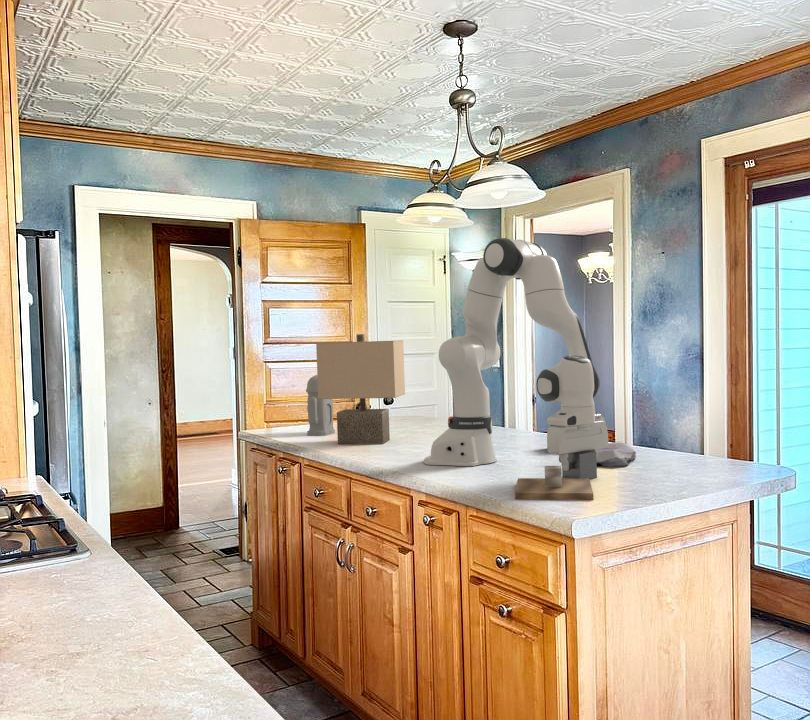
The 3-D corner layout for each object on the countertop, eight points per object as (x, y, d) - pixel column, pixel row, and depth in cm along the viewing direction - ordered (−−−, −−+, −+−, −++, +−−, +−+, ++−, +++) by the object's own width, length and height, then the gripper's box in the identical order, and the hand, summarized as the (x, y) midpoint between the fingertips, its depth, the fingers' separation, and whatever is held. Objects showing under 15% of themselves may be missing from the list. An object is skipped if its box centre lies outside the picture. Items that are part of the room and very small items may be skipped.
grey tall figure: (315, 431, 319) (313, 374, 319) (338, 431, 317) (336, 373, 316) (302, 436, 305) (300, 375, 304) (326, 436, 303) (324, 375, 302)
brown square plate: (515, 499, 175) (514, 473, 175) (518, 484, 193) (517, 461, 192) (593, 499, 172) (592, 474, 171) (589, 484, 189) (588, 460, 189)
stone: (626, 469, 210) (625, 451, 210) (574, 466, 217) (574, 449, 217) (640, 458, 227) (640, 441, 227) (592, 456, 235) (591, 440, 234)
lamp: (319, 445, 276) (315, 335, 275) (334, 439, 293) (330, 335, 292) (396, 445, 270) (393, 332, 269) (406, 438, 288) (403, 333, 286)
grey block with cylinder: (580, 480, 194) (579, 454, 194) (554, 476, 202) (553, 450, 202) (596, 477, 198) (596, 451, 197) (570, 473, 205) (570, 447, 205)
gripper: (595, 412, 206) (596, 461, 207) (542, 418, 195) (543, 471, 195) (613, 413, 201) (614, 464, 202) (560, 420, 190) (561, 474, 190)
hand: (579, 467), depth 198 cm, fingers open, 8 cm apart
